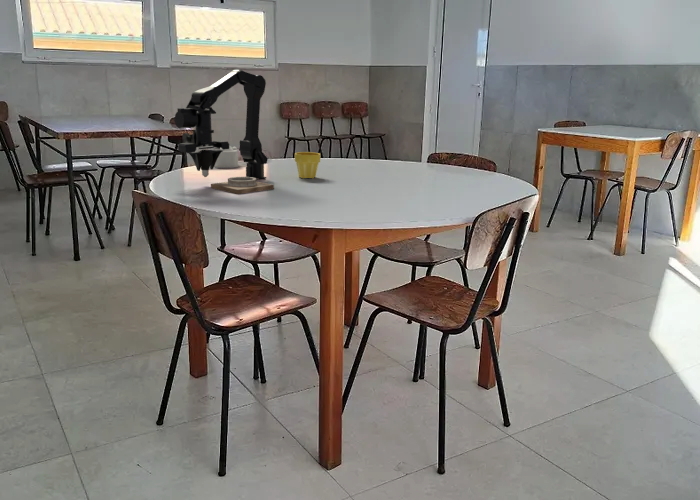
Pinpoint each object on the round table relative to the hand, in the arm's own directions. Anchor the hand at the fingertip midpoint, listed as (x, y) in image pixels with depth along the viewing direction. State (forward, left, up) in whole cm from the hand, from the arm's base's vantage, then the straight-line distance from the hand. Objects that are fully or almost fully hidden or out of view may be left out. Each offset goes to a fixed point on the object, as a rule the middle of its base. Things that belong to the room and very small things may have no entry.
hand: (205, 170), depth 230 cm
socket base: (-6, +14, -6) cm, 16 cm away
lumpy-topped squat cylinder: (-37, -38, -6) cm, 53 cm away
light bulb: (0, 0, -3) cm, 3 cm away
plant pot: (-42, +10, -6) cm, 44 cm away
